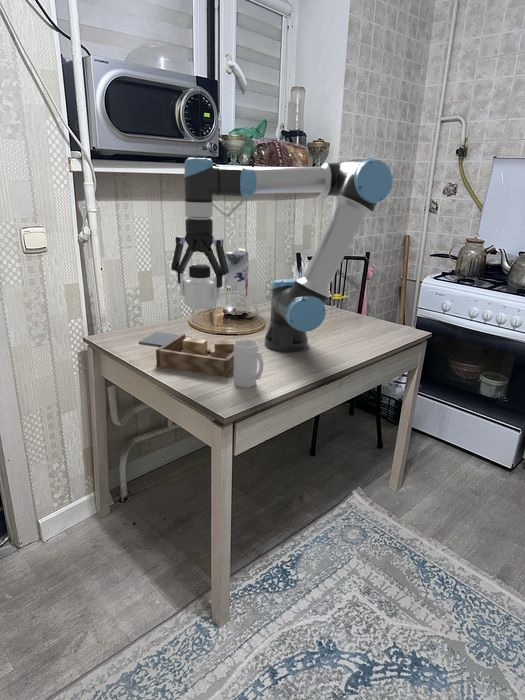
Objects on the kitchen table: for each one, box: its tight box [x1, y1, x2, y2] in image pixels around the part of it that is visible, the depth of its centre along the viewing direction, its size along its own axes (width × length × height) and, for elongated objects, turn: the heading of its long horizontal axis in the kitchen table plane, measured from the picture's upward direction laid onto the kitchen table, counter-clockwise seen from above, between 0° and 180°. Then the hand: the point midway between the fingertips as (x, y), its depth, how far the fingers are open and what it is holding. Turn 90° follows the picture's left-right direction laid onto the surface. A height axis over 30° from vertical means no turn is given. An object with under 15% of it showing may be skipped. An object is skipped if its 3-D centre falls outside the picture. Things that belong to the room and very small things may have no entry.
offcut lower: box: [209, 347, 231, 359], centre depth 151 cm, size 8×4×3 cm, turn 74°
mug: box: [233, 339, 264, 389], centre depth 132 cm, size 10×7×12 cm, turn 46°
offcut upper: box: [214, 340, 235, 353], centre depth 150 cm, size 6×3×3 cm, turn 95°
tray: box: [155, 333, 234, 378], centre depth 148 cm, size 23×17×5 cm
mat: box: [138, 331, 193, 348], centre depth 166 cm, size 14×12×1 cm
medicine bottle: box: [183, 263, 217, 310], centre depth 139 cm, size 7×7×12 cm
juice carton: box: [223, 248, 249, 297], centre depth 197 cm, size 9×10×27 cm
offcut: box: [182, 337, 208, 356], centre depth 154 cm, size 7×4×5 cm, turn 73°
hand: (200, 296), depth 140 cm, fingers closed on medicine bottle, 10 cm apart
